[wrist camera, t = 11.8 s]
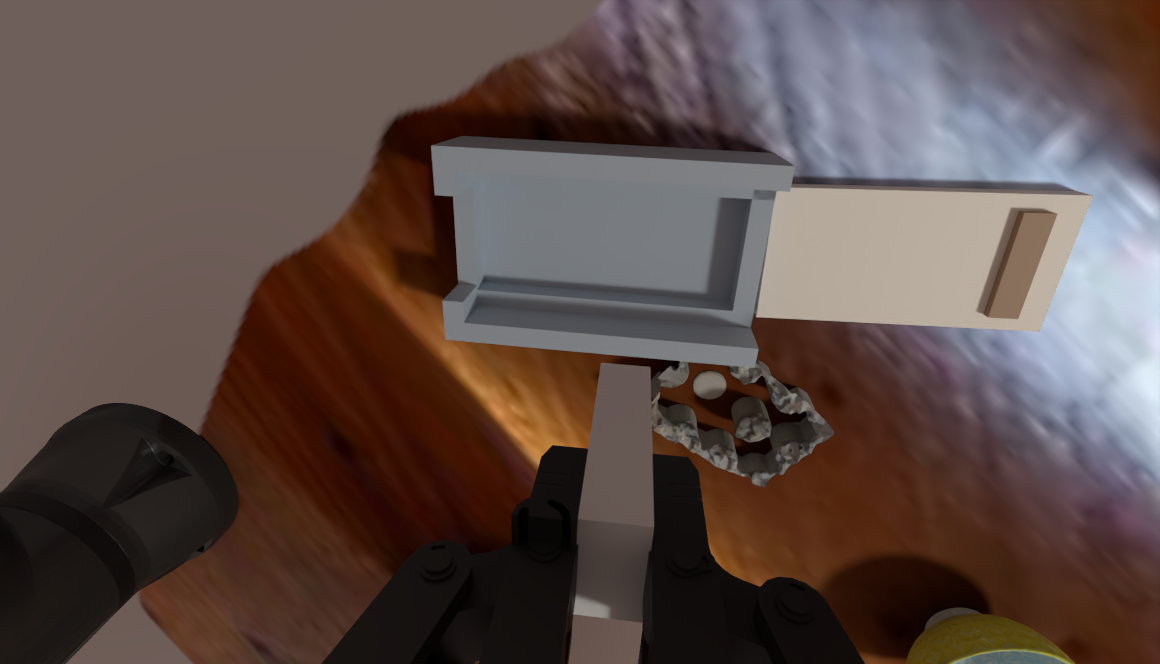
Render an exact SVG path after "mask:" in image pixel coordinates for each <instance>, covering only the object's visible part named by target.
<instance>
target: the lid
mask: <svg viewBox="0 0 1160 664" xmlns="http://www.w3.org/2000/svg"><path fill="white" fill-rule="evenodd" d="M1092 197H1093V195H1089V194H1085V193H1082V192H1078V191H1054V190H1016V189H977V188H939V187H901V186H863V185H824V184H792V185H791V190H790V192H785V191H777V192H776V197H775V202H774V208H773V213H772V218H771V223H770V229H769V234H768V239H767V244H766V250H765V255H764V260H763V265H762V271H761V276H760V281H759V286H758V292H757V297H756V302H755V308H754V313H755V315H756V317H766V318H786V319H805V320H825V321H845V322H864V323H884V324H903V325H923V326H943V327H962V328H982V329H1001V330H1021V331H1040V328H1041V326H1042V323H1043V321H1044V318H1045V316H1046V313H1047V311H1048V308H1049V306H1050V303H1051V301H1052V298H1053V296H1054V293H1055V291H1056V288H1057V285H1058V283H1059V280H1060V278H1061V275H1062V273H1063V270H1064V268H1065V265H1066V263H1067V260H1068V258H1069V255H1070V253H1071V250H1072V248H1073V245H1074V243H1075V240H1076V237H1077V235H1078V232H1079V230H1080V227H1081V225H1082V222H1083V220H1084V217H1085V215H1086V212H1087V210H1088V207H1089V205H1090V202H1091V200H1092Z"/></svg>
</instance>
